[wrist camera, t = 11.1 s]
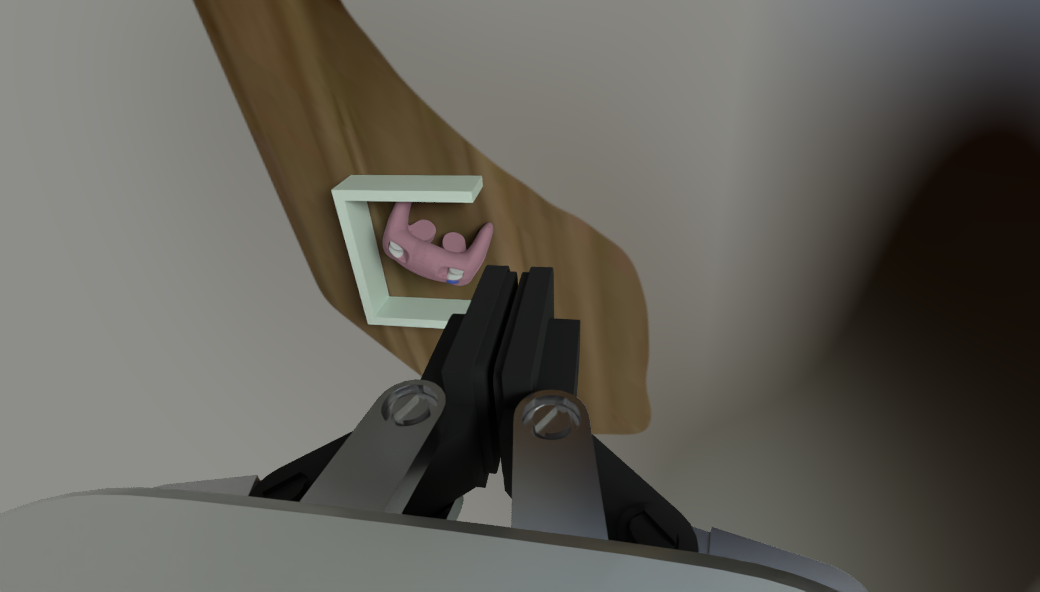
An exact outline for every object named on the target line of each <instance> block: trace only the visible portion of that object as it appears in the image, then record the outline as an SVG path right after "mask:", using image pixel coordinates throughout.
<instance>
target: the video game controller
mask: <svg viewBox="0 0 1040 592" xmlns="http://www.w3.org/2000/svg"><path fill="white" fill-rule="evenodd" d="M411 204H412V202H398V201H396V203H395V205H394V208H393V210H392V212H391V214H390V216H389V219H388V222H387V225H386V228H385V231H384V235H383V249H384V251H385V253H386V254H387V255H388V256H389V257H390V258H392V259H394V260H396V261H397V262H398V263H399V264H400V265H402V266H403V267H405V268H406V269H408V270H410V271H411V272H413V273H415V274H418V275H420V276H423V277H425V278H428V279H432V280H436V281H440V282H448V283H450V284H452V285H458V286H461V285H465V284H468V283H469V282H470V281H471V280H472V279H473V277H474V275H475V274H476V272H477V271H478V269H479V268H480V266H481V264H482V263H483V261H484V258H485V256H486V253H487V251H488V248H489V245H490V241H491V238H492V235H493V225H492V223H490V222H489V223H486V224H485V225H484V226H483V227H482V229H481V230H480V231H479V233H478V235H477V236H476V238H475V240H474V242H473V243H472V245H471V246H470V247H469V249H468V250H467V249H466V245H465V239H464V237H463V236H462V235H461V234H458V233H454V232H451V233H448V234H446V235H445V236H444V238H443V242H442V248H441V247H438V246H436V245H434V244H431V242H432V240H433V239H434V236H435V233H436V228H435V226H434V225H433V223H431V222H430V221H428V220H419V221H417V222H415V223H414V224H412V225H410V226H409V225H408V216H409V212H410V208H411Z"/></svg>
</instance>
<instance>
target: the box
mask: <svg viewBox="0 0 1040 592" xmlns="http://www.w3.org/2000/svg"><path fill="white" fill-rule="evenodd" d="M482 187H483V183H482V176H423V175H350V176H349V177H348V178H346V179H345V180H344V181H342V182H341V183H340V184H338V185H337V186H336V187H335V188H333V189H332V190H331V191H332V195H333V198H334V202H335V206H336V209H337V213H338V217H339V220H340V224H341V228H342V231H343V235H344V239H345V242H346V246H347V249H348V253H349V257H350V260H351V264H352V268H353V271H354V275H355V279H356V282H357V286H358V290H359V293H360V297H361V300H362V304H363V308H364V311H365V315H366V319H367V322H368V324H373V325H391V326H408V327H426V328H443V329H445V326H446V324H447V322H448V320H449V318H450V316H451V315H452V314H454V313H456V314H466V311H467V309H468V307H469V304H470V302H471V300H455V299H434V298H412V297H391V296H389V294H388V289H387V285H386V281H385V277H384V272H383V268H382V264H381V260H380V255H379V251H378V247H377V243H376V238H375V234H374V230H373V226H372V221H371V217H370V213H369V209H368V204H367V201H398V202H464V203H473V201H474V200H475V198H476V197H477V195H478V193H479V192H480V190H481V188H482Z"/></svg>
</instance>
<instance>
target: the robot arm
mask: <svg viewBox="0 0 1040 592" xmlns="http://www.w3.org/2000/svg"><path fill="white" fill-rule="evenodd" d="M579 353H580V320H571V319H554V273H553V267H531V268H530V272H522V275H521V278H520V282H519V285H518V278H517V272H510V269H509V266H497V265H487V266H486V267H485V269H484V272H483V274H482V276H481V279H480V281H479V283H478V286H477V288H476V290H475V293H474V295H473V297H472V300H471V302H470V304H469V307H468V309H467V311H466V314H456V313H454V314H452V315H451V316H450V318H449V320H448V322H447V324H446V326H445V329H444V331H443V333H442V335H441V337H440V339H439V341H438V343H437V346H436V348H435V350H434V352H433V354H432V356H431V358H430V360H429V363H428V365H427V367H426V369H425V371H424V373H423V375H422V377H421V380H410V381H404V382H402V383H399V384H396V385H394V386H392V387H391V388H389V389H388V390H386V391H385V392H384V393H383V394H382V395H381V396H380V397H379V398H378V399H377V400H376V402H375V403H374V404H373V406H372V407H371V408H370V410H369V411H368V412H367V414H366V415H365V416H364V417H363V419H362V420H361V421H360V423H359V424H358V425H357V427H356V428H355V429H354V431H352V432H350V433H348V434H346V435H344V436H343V437H340V438H338V439H336V440H334V441H332V442H330V443H328V444H326V445H324V446H322V447H321V448H318V449H317V450H315V451H312V452H310V453H308V454H306V455H304V456H302V457H301V458H298V459H296V460H295V461H292V462H291V463H288V464H287V465H285V466H283V467H281V468H279V469H277V470H275V471H274V472H272V473H271V474H269V475H268V476H266V477H265V478H264V479H263V480H260V479H259V478H258V476H257V475H253V476H244V477H234V478H224V479H215V480H206V481H196V482H186V483H176V484H167V485H162V486H158V487H154V488H142V487H137V488H106V489H98V490H90V491H82V492H74V493H69V494H64V495H60V496H56V497H51V498H47V499H42V500H39V501H36V502H32V503H29V504H26V505H23V506H20V507H17V508H15V509H12V510H9V511H6V512H4V513H1V514H0V592H867V590H866V589H865V588H864V586H863V585H861V584H860V583H859V582H858V581H856V580H855V579H854V578H853V577H852V576H850V575H849V574H848V573H846V572H844V571H842V570H840V569H838V568H836V567H833V566H831V565H829V564H826V563H823V562H820V561H817V560H813V559H810V558H807V557H804V556H801V555H798V554H795V553H792V552H789V551H786V550H783V549H780V548H776V547H773V546H770V545H767V544H764V543H761V542H758V541H755V540H752V539H749V538H745V537H742V536H739V535H736V534H733V533H730V532H727V531H724V530H721V529H718V528H715V527H711V531H710V532H708V531H705V530H702V529H699V528H696V527H693V526H691V524H690V523H689V522H688V521H687V519H686V518H685V517H684V516H683V515H682V514H681V513H680V512H679V511H678V510H677V509H676V508H675V507H674V506H672V505H671V504H670V503H669V502H668V501H667V500H666V499H665V498H663V497H662V496H661V495H660V494H659V493H658V492H657V491H656V490H654V489H653V488H652V487H651V486H650V485H649V484H648V483H647V482H645V481H644V480H643V479H642V478H641V477H640V476H639V475H637V474H636V473H635V472H634V471H633V470H632V469H631V468H630V467H629V466H627V465H626V464H625V463H624V462H623V461H622V460H621V459H620V458H618V457H617V456H616V455H615V454H614V453H613V452H612V451H611V450H609V449H608V448H607V447H606V446H605V445H604V444H603V443H602V442H601V441H599V440H598V439H597V438H596V437H595V436H594V435H593V434H592V431H591V425H590V418H589V414H588V411H587V408H586V406H585V405H584V404H583V403H582V401H581V400H580V399H578V398H577V387H578V373H579ZM500 458H501V464H502V472H503V477H504V486H505V491H506V492H507V494H508V495H509V496H510V497H511V499H512V518H511V519H512V520H511V528H510V527H502V526H494V525H485V524H478V523H470V522H461V521H456V520H457V518H458V516H459V513H460V511H461V509H462V505H463V501H464V498H463V495H464V494H465V493H467V492H469V491H470V490H472V489H474V488H475V487H483V488H485V487H486V483H487V479H488V475H489V473H493V474H496V473H497V471H498V467H499V462H500Z"/></svg>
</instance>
